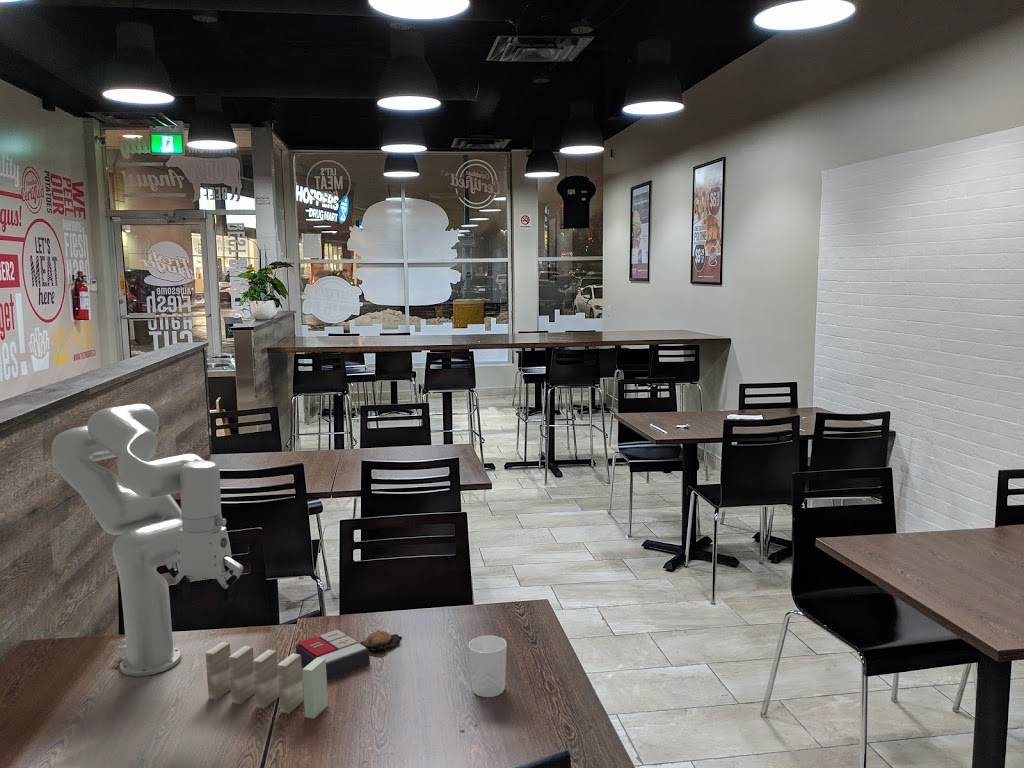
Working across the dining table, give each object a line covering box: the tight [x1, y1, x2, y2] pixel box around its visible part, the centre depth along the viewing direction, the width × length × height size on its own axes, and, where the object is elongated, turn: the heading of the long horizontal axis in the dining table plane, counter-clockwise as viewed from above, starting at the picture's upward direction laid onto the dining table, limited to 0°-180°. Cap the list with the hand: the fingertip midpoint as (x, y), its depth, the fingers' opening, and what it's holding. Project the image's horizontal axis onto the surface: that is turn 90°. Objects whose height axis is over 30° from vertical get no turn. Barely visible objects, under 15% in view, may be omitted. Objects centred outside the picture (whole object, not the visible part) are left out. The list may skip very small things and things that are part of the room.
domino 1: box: [205, 641, 232, 701], centre depth 162 cm, size 2×5×10 cm, turn 161°
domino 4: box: [277, 652, 304, 715], centre depth 156 cm, size 2×5×10 cm, turn 161°
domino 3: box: [253, 649, 279, 710], centre depth 158 cm, size 2×5×10 cm, turn 161°
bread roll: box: [359, 629, 403, 658], centre depth 182 cm, size 11×8×4 cm
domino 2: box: [229, 645, 255, 705], centre depth 160 cm, size 2×5×10 cm, turn 161°
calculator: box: [295, 629, 371, 680], centre depth 176 cm, size 11×4×15 cm
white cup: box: [468, 635, 508, 698], centre depth 161 cm, size 8×8×10 cm
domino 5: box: [302, 657, 329, 719], centre depth 154 cm, size 2×5×10 cm, turn 161°
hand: (205, 601), depth 161 cm, fingers open, 9 cm apart
